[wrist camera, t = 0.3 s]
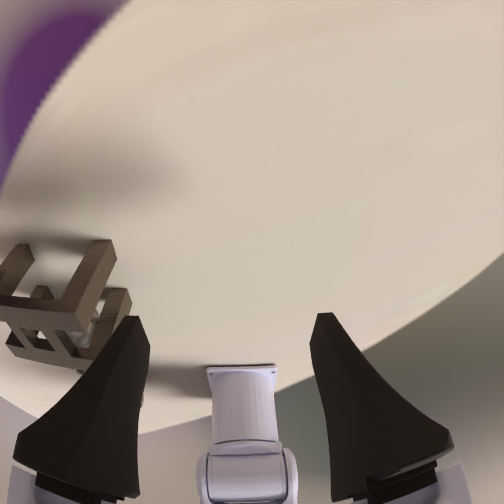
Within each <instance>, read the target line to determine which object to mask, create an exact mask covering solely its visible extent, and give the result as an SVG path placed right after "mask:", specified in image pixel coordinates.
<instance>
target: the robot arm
mask: <svg viewBox="0 0 504 504" xmlns="http://www.w3.org/2000/svg"><path fill="white" fill-rule="evenodd" d="M310 351H311V358H312V365H313V369H314V373H315V377H316V381H317V384H318V389H319V392H320V396H321V400H322V404H323V408H324V413H325V418H326V425H327V433H328V442H329V453H330V469H331V499H332V502H338V501H342V500H346V499H350V498H353V500H354V502H352V503H348V504H472V499H471V495H470V491H469V487H468V482H467V479H466V475H465V471H464V468H463V464H462V461H458V462H456V463H454V464H452V465H450V466H448V467H446V468H444V469H442V470H440V471H438V472H435V469H434V468H435V467H437V462H436V459H438V458H440V457H442V456H444V455H445V454H447V453H448V452H450V451H452V450H453V449H454V444H453V441H452V438H451V435H450V432H449V430H448V429H447V428H445V427H443V426H442V425H440V424H438V423H437V422H435V421H433V420H431V419H430V418H429V417H427V416H426V415H425V414H423V413H422V412H420V411H419V410H418V409H416V408H415V407H414V406H413V405H412V404H410V403H409V402H408V401H407V400H405V399H404V398H403V397H402V396H401V395H400V394H399V393H398V392H396V391H395V390H394V389H393V388H392V387H391V386H390V385H389V384H388V383H387V382H386V381H385V380H384V379H383V378H382V377H381V375H380V374H379V373H378V372H377V371H376V370H375V369H374V368H373V366H372V365H371V364H370V363H369V362H368V360H367V359H366V358H365V357H364V355H363V354H362V353H361V351H360V350H359V349H358V348H357V346H356V345H355V344H354V342H353V341H352V340H351V338H350V337H349V335H348V334H347V333H346V331H345V330H344V328H343V327H342V325H341V324H340V322H339V321H338V320H337V318H336V317H335V315H334V314H333V313H332V312H330V313H318V314H317V318H316V322H315V326H314V329H313V333H312V337H311V340H310ZM149 356H150V344H149V341H148V339H147V336H146V334H145V331H144V328H143V326H142V323H141V321H140V318H139V316H126V315H125V316H124V318H123V319H122V320H121V322H120V323H119V325H118V326H117V328H116V329H115V331H114V332H113V334H112V335H111V337H110V338H109V340H108V341H107V343H106V344H105V345H104V347H103V348H102V350H101V351H100V352H99V354H98V355H97V357H96V358H95V359H94V361H93V362H92V363H91V365H90V366H89V367H88V369H87V370H86V371H85V373H84V374H83V375H82V376H81V377H80V379H79V380H78V381H77V382H76V383H75V384H74V386H73V387H72V388H71V389H70V390H69V391H68V392H67V393H66V394H65V395H64V396H63V397H62V398H61V399H60V400H59V401H58V402H57V403H56V404H55V405H54V406H53V407H52V408H51V409H50V410H48V411H47V412H46V413H45V414H44V415H43V416H42V417H40V418H39V419H38V420H37V421H35V422H34V423H33V424H31V425H30V426H28V427H27V428H25V429H24V430H23V431H21V432H20V433H19V434H18V437H17V440H16V445H15V449H14V454H13V459H14V460H15V461H17V462H19V463H21V464H23V465H25V466H27V467H29V468H31V469H33V470H35V471H37V476H35V475H32V474H30V473H28V472H26V471H24V470H22V469H20V468H18V467H16V466H14V465H13V466H12V470H11V475H10V481H9V489H8V496H7V504H116V502H117V500H122V501H124V497H129V498H136V497H138V496H139V495H140V489H139V478H138V461H137V438H138V420H139V412H140V407H141V402H142V397H143V392H144V387H145V382H146V377H147V372H148V366H149ZM206 372H207V377H208V381H209V385H210V390H211V394H212V445H209V452H207V451H204V452H203V453H202V454H201V455H200V456H199V458H198V461H197V467H196V482H197V489H198V494H199V497H200V504H297V492H298V475H297V466H296V461H295V457H294V454H293V453H292V452H291V451H290V450H289V449H288V448H284V449H282V445H281V442H279V441H278V432H277V423H276V413H275V405H274V395H273V394H274V388H275V383H276V378H277V372H278V367H277V366H276V365H270V366H246V367H208V368H207V369H206ZM271 500H275V501H271ZM256 501H257V502H258V501H270V502H259V503H224V502H256Z"/></svg>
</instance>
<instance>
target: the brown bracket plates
mask: <svg viewBox="0 0 504 504" xmlns="http://www.w3.org/2000/svg"><path fill="white" fill-rule="evenodd" d="M116 260H117V257H116V254H115V250H114V247H113V244H112V240H99V241H93V243H92V244H91V246H90V248H89V249H88V251H87V253H86V254H85V256H84V258H83V259H82V261H81V263H80V264H79V266H78V268H77V270H76V271H75V273H74V275H73V277H72V279H71V280H70V282H69V284H68V286H67V288H66V290H65V292H64V294H63V295H62V297H61V299H60V300H54V298H53V296H52V294H51V292H50V290H49V288H48V286H36V287H35V289H34V291H33V292H32V294H31V296H30V298H28V297H17V296H12V294H13V292H14V291H15V289H16V288H17V286H18V284H19V283H20V281H21V280H22V278H23V277H24V275H25V274H26V272H27V271H28V269H29V268H30V266H31V265H32V264H33V262H34V261H35V259H34V257H33V254H32V252H31V250H30V248H29V245H28V244H17V245H16V246H15V247H14V248H13V250H12V251H11V252H10V253H9V255H8V256H7V257H6V258H5V260H4V261H3V262H2V264H1V265H0V321H3V322H6V323H7V324H8V325H9V327H10V328H11V330H12V331H11V333H10V335H9V337H8V339H7V341H6V343H5V344H6V345H7V346H8V348H9V349H10V350H11V351H12V353H13V354H14V355H15V356H16V357H20V358H24V359H28V360H33V361H37V362H41V363H46V364H51V365H56V366H61V367H66V368H72V369H78V370H84V371H86V370H87V369H88V367H89V366H90V365H91V363H92V362H93V361H94V359H95V358H96V357H97V355H98V354H99V352H100V351H101V350H102V348H103V347H104V345H105V344H106V343H107V341H108V340H109V338H110V337H111V335H112V334H113V332H114V331H115V329H116V328H117V326H118V325H119V323H120V322H121V320H122V319H123V318H124V316H125V315H126V316H129V312H130V309H131V306H132V302H131V299H130V296H129V293H128V290H127V289H110V291H109V294H108V296H107V299H106V301H105V304H104V307H103V309H102V312H101V314H100V317H99V320H98V322H97V325H96V328H95V331H94V333H93V336H92V339H91V342H90V345H89V348H83V347H76V346H75V345H74V343H73V342H72V340H71V339H70V337H69V336H68V334H67V333H66V331H70V332H79V333H86V331H87V329H88V326H89V323H90V321H91V318H92V316H93V313H94V311H95V308H96V306H97V303H98V301H99V299H100V296H101V294H102V291H103V289H104V287H105V285H106V282H107V280H108V278H109V276H110V273H111V271H112V269H113V267H114V265H115V263H116ZM39 331H42V333H43V334H44V336H45V337H46V339H41V338H38V337H37V335H38V332H39Z"/></svg>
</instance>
